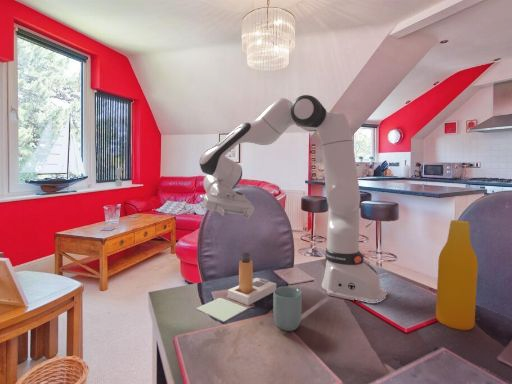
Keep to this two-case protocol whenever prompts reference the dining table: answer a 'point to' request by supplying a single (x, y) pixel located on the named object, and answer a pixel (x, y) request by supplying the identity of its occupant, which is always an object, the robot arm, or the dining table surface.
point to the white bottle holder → (259, 291)
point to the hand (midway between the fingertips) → (236, 215)
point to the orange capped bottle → (245, 274)
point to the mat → (221, 309)
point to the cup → (287, 307)
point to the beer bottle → (457, 279)
